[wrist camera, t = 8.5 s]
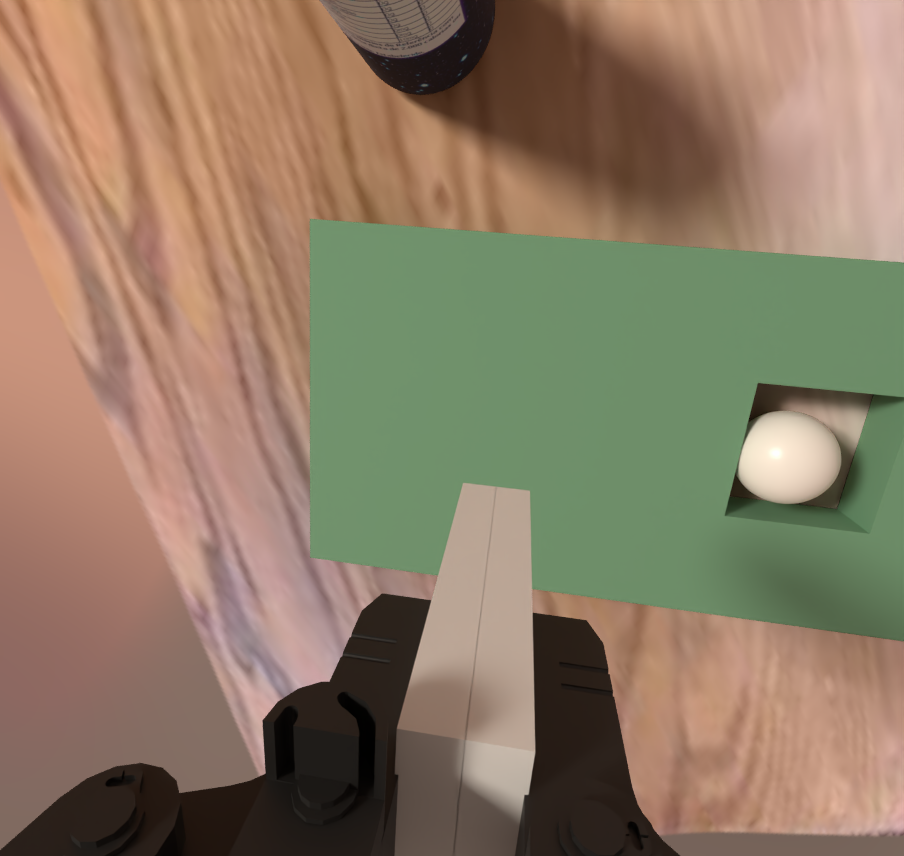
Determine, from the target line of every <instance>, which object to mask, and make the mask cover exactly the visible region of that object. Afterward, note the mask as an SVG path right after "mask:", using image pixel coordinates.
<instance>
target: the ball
mask: <svg viewBox="0 0 904 856" xmlns="http://www.w3.org/2000/svg"><path fill="white" fill-rule="evenodd" d="M840 467H841V450H840V446H839V444H838V441H837V439H836V438H835V436H834V434H833V433H832V432H831V431H830V429H829V428H828V427H827V426H825V425H824V424H823V423H822V422H820V421H819V420H817V419H816V418H814V417H812V416H809V415H807V414H804V413H800V412H795V411H775V412H770V413H766V414H763V415H761V416H758V417H756V418H755V419H753V420H751V421H750V422H749V423H748V424H747V428H746V432H745V436H744V440H743V444H742V448H741V452H740V456H739V460H738V464H737V468H736V472H735V474H736V476H737V477H738V479H739V480H740V482H741V483H742V484H743V485H744V486H745V487H746V488H747V489H748V490H749V491H750V492H751V493H753V494H755V495H756V496H758V497H760V498H762V499H764V500H767V501H770V502H775V503H781V504H795V503H801V502H805V501H808V500H811V499H814V498H816V497H817V496H819V495H821V494H822V493H824V492H825V491H826V490H827V489H828V488H829V487H830V486H831V485H832V484H833V483H834V481H835V479H836V478H837V476H838V473H839V471H840Z"/></svg>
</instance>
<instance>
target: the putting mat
mask: <svg viewBox="0 0 904 856" xmlns="http://www.w3.org/2000/svg"><path fill="white" fill-rule="evenodd" d="M758 383H764V384H774V385H785V386H795V387H805V388H815V389H826V390H836V391H846V392H856V393H867V394H874V395H873V398H872V401H871V404H870V408H869V411H868V414H867V417H866V420H865V423H864V426H863V430H862V433H861V436H860V439H859V442H858V445H857V448H856V452H855V455H854V458H853V461H852V464H851V467H850V470H849V474H848V477H847V480H846V483H845V486H844V489H843V492H842V496H841V499H840V502H839V505H838V508H837V509H833V508H824V507H816V506H808V505H799V504H781V503H775V502H770V501H766V500H757V499H749V498H740V497H732V496H730V492H731V488H732V484H733V480H734V476H735V472H736V468H737V464H738V460H739V456H740V452H741V448H742V444H743V440H744V436H745V432H746V428H747V424H748V420H749V416H750V412H751V408H752V404H753V400H754V396H755V392H756V388H757V384H758ZM463 483H469V484H478V485H486V486H495V487H503V488H512V489H520V490H529V491H530V516H531V565H532V589H537V590H544V591H551V592H558V593H565V594H572V595H580V596H587V597H594V598H601V599H608V600H615V601H622V602H629V603H636V604H643V605H650V606H657V607H665V608H672V609H679V610H686V611H693V612H700V613H707V614H714V615H721V616H728V617H735V618H742V619H749V620H757V621H764V622H771V623H778V624H785V625H792V626H799V627H806V628H813V629H820V630H827V631H834V632H841V633H849V634H856V635H863V636H870V637H877V638H884V639H891V640H898V641H904V263H902V262H888V261H875V260H861V259H847V258H834V257H820V256H807V255H793V254H779V253H766V252H752V251H739V250H725V249H712V248H698V247H684V246H671V245H657V244H644V243H630V242H617V241H603V240H589V239H576V238H562V237H549V236H535V235H521V234H508V233H494V232H481V231H467V230H454V229H440V228H426V227H413V226H399V225H386V224H372V223H359V222H345V221H331V220H318V219H310V557H311V558H318V559H325V560H332V561H339V562H346V563H353V564H360V565H367V566H374V567H381V568H388V569H396V570H403V571H410V572H417V573H424V574H431V575H438V574H439V571H440V567H441V563H442V560H443V556H444V552H445V549H446V545H447V541H448V537H449V534H450V530H451V526H452V523H453V519H454V515H455V512H456V508H457V504H458V500H459V497H460V493H461V489H462V486H463Z"/></svg>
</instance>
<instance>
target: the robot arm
mask: <svg viewBox="0 0 904 856" xmlns="http://www.w3.org/2000/svg"><path fill="white" fill-rule="evenodd" d="M263 736H264V753H265V770H266V774H264V775H262V776H260V777H257V778H255V779H253V780H251V781H247V782H244V783H239V784H235V785H231V786H225V787H218V788H212V789H206V790H198V791H192V792H185V793H179V790H178V786H177V781H176V780H175V779H174V778H173V777H172V776H171V775H169V773H168V772H166V771H165V770H164V769H163V768H161V767H156V766H152V765H147V764H143V763H138V764H131V765H124V766H117V767H113V768H111V769H109V770H106V771H104V772H101V773H99V774H97V775H94V776H92V777H90V778H87V779H86V780H85V781H83V782H81V783H80V784H79V785H77V786H76V787H74V788H73V789H71V790H70V791H69V792H67V793H66V794H64V795H63V796H62V797H60V798H59V799H58V800H57V801H56V802H54V803H53V804H52V805H51V806H50V807H49V808H48V809H47V810H45V811H44V812H43V813H42V814H41V815H40V816H38V817H37V818H36V819H35V820H34V821H33V822H32V823H31V824H29V825H28V826H27V827H26V828H25V829H24V830H23V831H22V832H20V833H19V834H18V835H17V836H16V837H15V838H14V839H12V840H11V841H10V842H9V843H8V844H7V845H6V846H5V847H3V848H2V849H1V850H0V856H680V855H678V853H676V852H675V851H674V850H673V849H672V848H671V847H669V846H668V845H667V844H666V843H665V842H664V841H663V840H662V839H661V838H660V837H659V835H658V834H657V833H656V832H655V830H654V829H653V827H652V825H651V823H650V822H649V820H648V819H647V818H646V817H645V815H644V814H643V813H642V811H641V809H640V808H639V806H638V804H637V801H636V798H635V795H634V791H633V788H632V784H631V779H630V774H629V769H628V764H627V759H626V754H625V749H624V744H623V739H622V734H621V729H620V724H619V719H618V714H617V709H616V704H615V699H614V697H613V689H612V684H611V679H610V674H608V665H607V660H606V655H605V650H604V645H603V642H602V641H601V640H600V638H599V637H598V636H597V634H596V633H595V631H594V630H593V629H592V627H591V626H590V625H589V623H588V622H587V620H580V619H573V618H566V617H559V616H552V615H545V614H538V613H532V565H531V516H530V491H529V490H520V489H512V488H503V487H495V486H486V485H478V484H469V483H463V486H462V489H461V493H460V497H459V500H458V504H457V508H456V512H455V515H454V519H453V523H452V526H451V530H450V534H449V537H448V541H447V545H446V549H445V552H444V556H443V560H442V563H441V567H440V571H439V574H438V578H437V582H436V585H435V589H434V593H433V597H432V600H425V599H418V598H411V597H404V596H396V595H389V594H381V595H380V596H379V597H377V598H376V599H375V600H374V601H373V602H372V603H370V604H369V605H368V606H367V607H366V608H365V609H363V610H362V612H361V614H360V616H359V618H358V621H357V623H356V625H355V627H354V629H353V632H352V636H351V637H350V638H349V640H348V643H347V645H346V647H345V649H344V651H343V656H342V657H341V658H340V660H339V662H338V664H337V667H336V669H335V671H334V673H333V675H332V678H331V680H330V682H319V683H316V684H312V685H309V686H306V687H302V688H299V689H297V690H296V691H294V692H292V693H291V694H289V695H288V696H286V697H285V698H283V699H282V700H280V701H278V702H277V704H276V705H275V706H274V707H273V708H272V710H271V711H270V712H269V713H268V715H267V716H266V717H265V718H264V719H263Z"/></svg>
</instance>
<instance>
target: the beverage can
mask: <svg viewBox="0 0 904 856" xmlns="http://www.w3.org/2000/svg"><path fill="white" fill-rule="evenodd" d="M320 2H321V3H322V4H323V6H324V7H325V8H326V9H327V11H328V12H329V13H330V15H331V16H332V17H333V19H334V20H335V21H336V23H337V24H338V25H339V27H340V28H341V29H342V31H343V32H344V33H345V35H346V36H347V37H348V39H349V40H350V41H351V43H352V44H353V45H354V47H355V48H356V49H357V51H358V52H359V53H360V55H361V56H362V57H363V59H364V60H365V61H366V62H367V64H368V65H369V66H370V68H371V69H372V70H373V72H374V73H375V74H376V75H377V76H378V77H379V78H380V79H381V80H383V81H384V82H385V83H387V84H388V85H390V86H391V87H393V88H395V89H397V90H400V91H402V92H406V93H410V94H417V95H426V94H433V93H437V92H441V91H443V90H446V89H448V88H450V87H452V86H454V85H455V84H457V83H458V82H460V81H461V80H462V79H463V78H465V77H466V76H467V75H468V74H469V73H470V72H471V71H472V69H473V68H474V67H475V66H476V64H477V63H478V62H479V60H480V58H481V57H482V55H483V53H484V51H485V49H486V47H487V45H488V42H489V39H490V36H491V33H492V29H493V24H494V16H495V0H320Z"/></svg>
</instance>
